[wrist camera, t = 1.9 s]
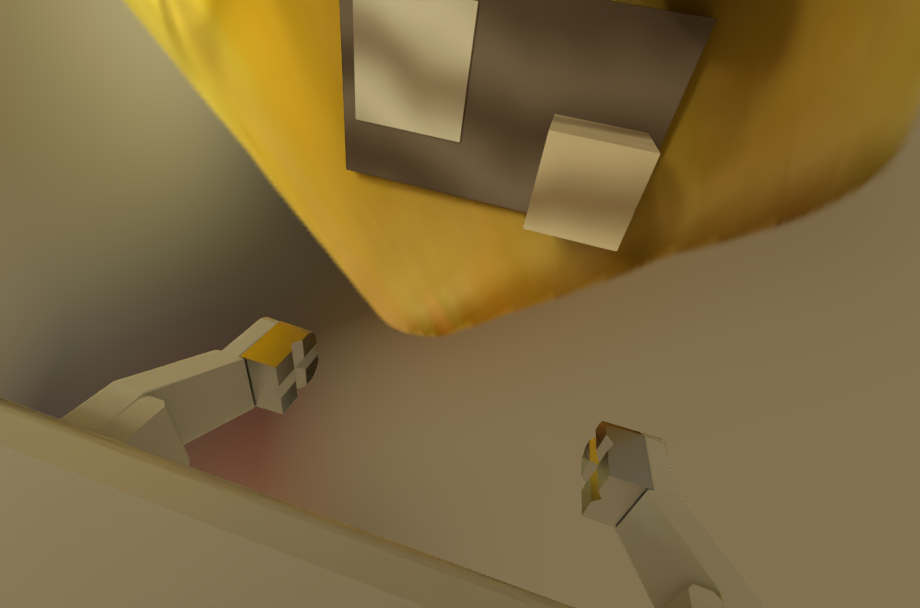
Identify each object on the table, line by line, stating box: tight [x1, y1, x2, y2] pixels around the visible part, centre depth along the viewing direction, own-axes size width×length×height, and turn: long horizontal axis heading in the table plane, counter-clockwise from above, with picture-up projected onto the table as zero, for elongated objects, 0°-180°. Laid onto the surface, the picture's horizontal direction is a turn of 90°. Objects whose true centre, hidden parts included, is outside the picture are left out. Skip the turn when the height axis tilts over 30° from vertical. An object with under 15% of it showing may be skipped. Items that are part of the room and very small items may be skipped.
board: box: [339, 0, 716, 213], centre depth 26 cm, size 13×22×1 cm, turn 82°
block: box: [523, 114, 660, 252], centre depth 25 cm, size 6×6×5 cm
